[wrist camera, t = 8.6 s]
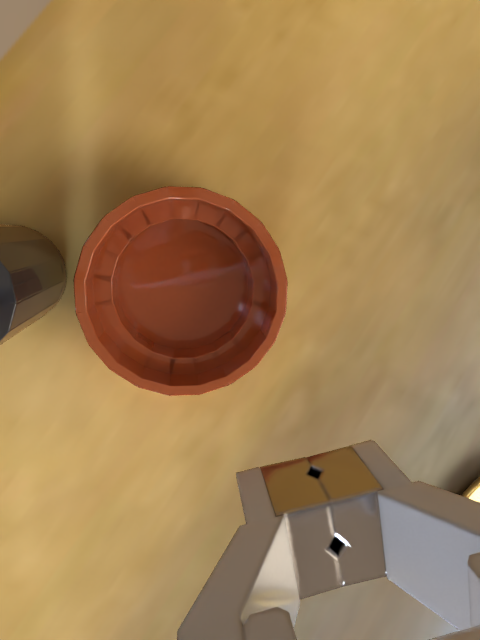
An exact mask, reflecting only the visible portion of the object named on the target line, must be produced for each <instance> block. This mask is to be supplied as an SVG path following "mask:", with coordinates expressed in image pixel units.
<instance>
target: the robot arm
mask: <svg viewBox="0 0 480 640" xmlns="http://www.w3.org/2000/svg"><path fill="white" fill-rule="evenodd" d="M236 478H237V483H238V487H239V492H240V497H241V502H242V507H243V511H244V516H245V521H246V525H242V526H239V527H238V529H237V531H236V533H235V534H234V536H233V538H232V539H231V541H230V543H229V544H228V546H227V548H226V549H225V551H224V553H223V555H222V556H221V558H220V560H219V561H218V563H217V565H216V566H215V568H214V570H213V572H212V573H211V575H210V577H209V578H208V580H207V582H206V583H205V585H204V587H203V589H202V590H201V592H200V594H199V595H198V597H197V599H196V600H195V602H194V604H193V605H192V607H191V609H190V611H189V612H188V614H187V616H186V617H185V619H184V621H183V622H182V624H181V626H180V628H179V629H178V631H177V640H297V639H296V635H295V632H294V626H295V622H296V618H297V614H298V610H299V606H300V599H303V598H307V597H310V596H313V595H317V594H320V593H323V592H326V591H330V590H333V589H336V588H339V587H343V586H347V585H351V584H356V583H360V582H364V581H368V580H372V579H377V578H381V577H385V576H387V579H389V580H390V581H392V582H393V583H394V584H396V585H397V586H398V587H400V588H401V589H403V590H404V591H405V592H407V593H408V594H410V595H411V596H412V597H414V598H415V599H417V600H418V601H419V602H421V603H422V604H424V605H425V606H426V607H428V608H429V609H431V610H432V611H433V612H435V613H436V614H437V615H439V616H440V617H442V618H443V619H444V620H446V621H447V622H449V623H450V624H451V625H453V626H454V627H456V628H457V629H458V630H460V631H457V632H453V633H450V634H446V635H443V636H439V637H436V638H432V639H429V640H480V502H478V501H475V500H472V499H469V498H466V497H463V496H461V495H458V494H455V493H452V492H449V491H446V490H443V489H441V488H438V487H435V486H432V485H429V484H426V483H424V482H421V481H417V482H411V481H410V480H409V479H408V478H407V476H406V475H405V474H404V473H403V472H402V471H401V470H400V469H399V468H398V467H397V465H396V464H395V463H394V462H393V461H392V460H391V459H390V458H389V457H388V455H387V454H386V453H385V452H384V451H383V450H382V449H381V448H380V447H379V446H378V444H377V443H376V442H375V441H373V440H368V441H364V442H361V443H357V444H354V445H350V446H348V447H344V448H340V449H336V450H332V451H329V452H325V453H321V454H317V455H314V456H310V457H303V458H298V459H294V460H289V461H284V462H280V463H275V464H271V465H266V466H261V467H260V468H259V467H256V468H252V469H248V470H244V471H240V472H236Z"/></svg>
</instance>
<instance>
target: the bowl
mask: <svg viewBox="0 0 480 640" xmlns="http://www.w3.org/2000/svg"><path fill="white" fill-rule="evenodd" d="M287 285H288V282H287V276H286V273H285V269H284V265H283V261H282V257H281V254H280V251H279V248H278V247H277V245H276V244H275V242H274V241H273V239H272V237H271V236H270V234H269V233H268V231H267V230H266V228H265V226H264V225H263V223H262V222H261V221H260V220H259V219H257V218H256V217H255V216H254V215H253V214H251V213H250V212H249V211H248V210H246V209H245V208H244V207H243V206H241V205H240V204H239V203H238V202H237V201H235V200H233V199H231V198H228V197H226V196H223V195H220V194H218V193H215V192H212V191H210V190H207V189H205V188H200V187H176V186H167V187H162V188H158V189H155V190H152V191H148V192H145V193H141V194H138V195H135V196H133V197H130V198H129V199H128V200H126V201H125V202H123V203H122V204H121V205H119V206H118V207H116V208H115V209H113V210H112V211H111V212H109V213H108V214H106V215H105V216H104V217H103V218H102V219H101V221H100V222H99V224H98V225H97V226H96V228H95V229H94V231H93V232H92V234H91V235H90V236H89V238H88V239H87V241H86V242H85V243H84V246H83V247H82V251H81V254H80V258H79V262H78V265H77V269H76V272H75V276H74V294H75V312H76V315H77V318H78V320H79V323H80V325H81V328H82V330H83V332H84V335H85V337H86V340H87V342H88V344H89V346H90V347H91V348H92V349H93V351H94V352H95V353H96V354H97V355H98V357H99V358H100V359H101V360H102V361H103V362H104V364H105V365H106V366H107V367H108V368H109V369H110V370H111V371H113V372H115V373H116V374H118V375H119V376H121V377H122V378H124V379H126V380H127V381H129V382H130V383H132V384H134V385H135V386H138V387H139V388H143V389H146V390H150V391H154V392H157V393H161V394H165V395H169V396H171V395H200V394H203V393H206V392H210V391H213V390H216V389H219V388H222V387H225V386H228V385H230V384H232V383H233V382H235V381H236V380H238V379H239V378H241V377H242V376H243V375H245V374H246V373H248V372H249V371H251V370H252V369H253V368H255V367H256V366H257V365H258V363H259V362H260V361H261V360H262V358H263V357H264V356H265V354H266V353H267V352H268V351H269V349H270V348H271V347H272V346H273V344H274V343H275V341H276V338H277V336H278V333H279V330H280V328H281V325H282V322H283V320H284V317H285V314H286V304H287Z"/></svg>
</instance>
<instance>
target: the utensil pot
mask: <svg viewBox="0 0 480 640" xmlns="http://www.w3.org/2000/svg"><path fill="white" fill-rule="evenodd" d="M66 280H67V273H66V267H65V263H64V260H63V258H62V256H61V254H60V252H59V250H58V249H57V248H56V246H55V245H54V244H53V243H52V242H51V241H50V240H49V239H48V238H47V237H45V236H44V235H43V234H41V233H39V232H37V231H36V230H33V229H31V228H28V227H24V226H19V225H5V224H0V345H1V344H3V343H4V342H6V341H7V340H9V339H10V338H12V337H13V336H15V335H16V334H18V333H19V332H21V331H22V330H24V329H25V328H27V327H28V326H30V325H31V324H32V323H34V322H35V321H37V320H38V319H40V318H41V317H43V316H44V315H45V314H46V313H47V312H48V311H50V310H51V309H52V308H53V307H54V306H55V305H56V304H57V303H58V302H59V300H60V299H61V297H62V295H63V293H64V290H65V287H66Z"/></svg>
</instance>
